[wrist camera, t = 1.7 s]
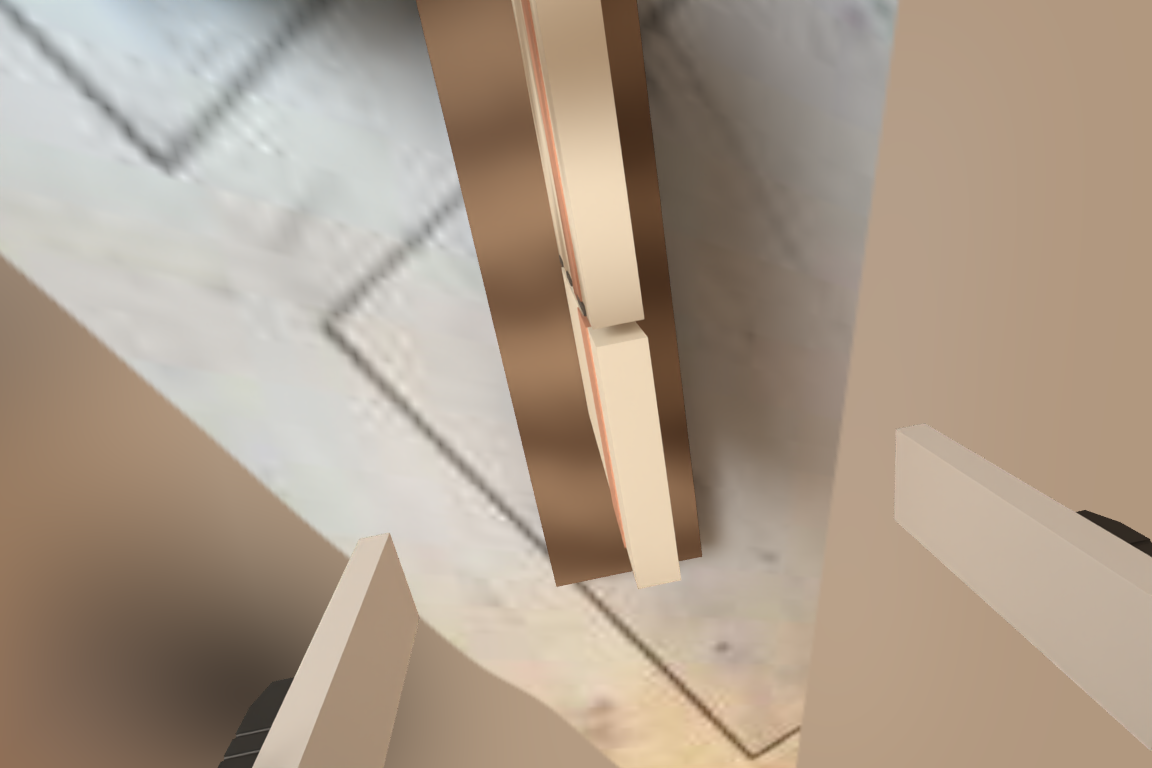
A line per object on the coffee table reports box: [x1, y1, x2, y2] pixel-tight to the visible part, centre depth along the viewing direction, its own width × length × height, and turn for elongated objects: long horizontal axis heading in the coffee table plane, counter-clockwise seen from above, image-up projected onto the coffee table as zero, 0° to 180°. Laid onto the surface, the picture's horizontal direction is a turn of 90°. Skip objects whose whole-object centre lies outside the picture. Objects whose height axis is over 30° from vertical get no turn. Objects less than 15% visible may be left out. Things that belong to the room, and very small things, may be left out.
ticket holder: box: [416, 0, 702, 587], centre depth 20 cm, size 32×8×14 cm, turn 10°
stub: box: [561, 267, 681, 589], centre depth 20 cm, size 7×1×12 cm, turn 10°
